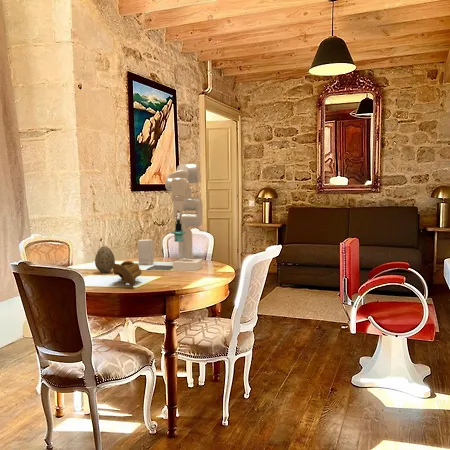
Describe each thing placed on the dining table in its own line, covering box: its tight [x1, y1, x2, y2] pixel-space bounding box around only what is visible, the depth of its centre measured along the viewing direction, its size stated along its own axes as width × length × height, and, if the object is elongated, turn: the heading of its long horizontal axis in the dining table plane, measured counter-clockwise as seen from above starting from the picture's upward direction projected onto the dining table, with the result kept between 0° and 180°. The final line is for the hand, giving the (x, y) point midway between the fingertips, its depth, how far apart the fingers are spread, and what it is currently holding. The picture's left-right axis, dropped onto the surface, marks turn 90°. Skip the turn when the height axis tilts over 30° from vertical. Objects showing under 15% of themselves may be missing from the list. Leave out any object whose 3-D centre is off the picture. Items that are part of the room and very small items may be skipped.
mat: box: [146, 264, 173, 271], centre depth 256 cm, size 14×14×1 cm
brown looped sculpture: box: [112, 260, 142, 287], centre depth 213 cm, size 18×13×22 cm
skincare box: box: [137, 238, 154, 266], centre depth 271 cm, size 8×7×16 cm
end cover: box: [170, 220, 186, 243], centre depth 253 cm, size 9×9×12 cm
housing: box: [172, 258, 203, 272], centre depth 253 cm, size 14×14×5 cm
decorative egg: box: [94, 245, 116, 274], centre depth 242 cm, size 11×11×15 cm
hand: (178, 229), depth 253 cm, fingers closed on end cover, 4 cm apart
